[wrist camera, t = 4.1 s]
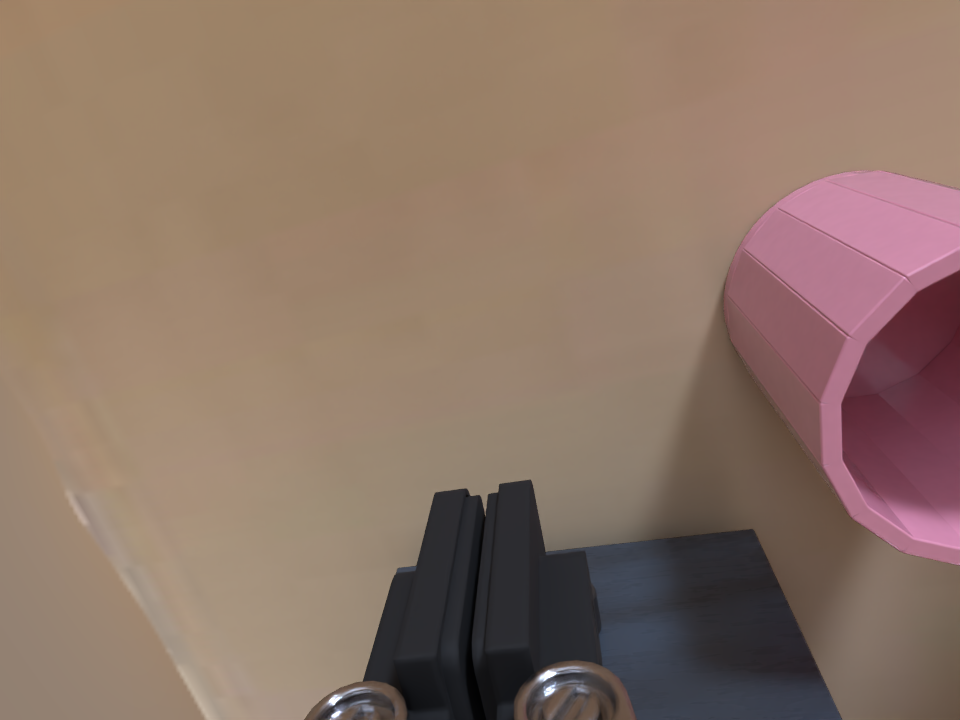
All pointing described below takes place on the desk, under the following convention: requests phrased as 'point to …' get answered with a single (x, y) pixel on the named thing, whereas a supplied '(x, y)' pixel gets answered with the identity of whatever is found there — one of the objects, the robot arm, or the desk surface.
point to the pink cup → (862, 345)
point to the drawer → (702, 631)
